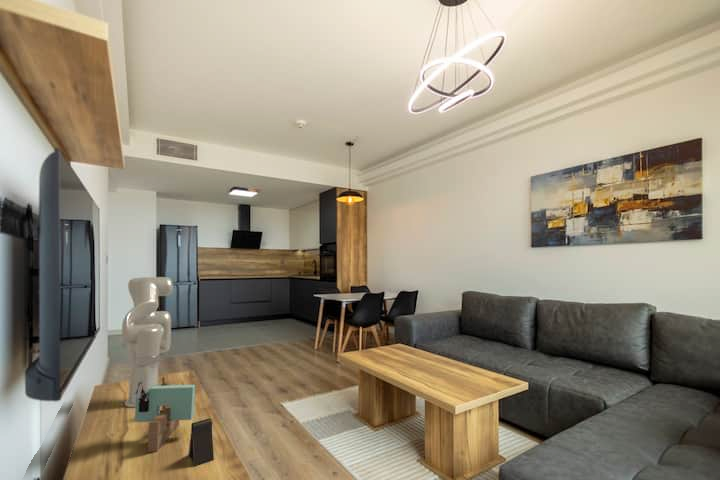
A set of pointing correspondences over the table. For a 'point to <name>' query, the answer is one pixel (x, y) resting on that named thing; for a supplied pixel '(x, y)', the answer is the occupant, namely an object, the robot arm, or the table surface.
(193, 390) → the teal board
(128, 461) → the table surface
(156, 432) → the walnut board
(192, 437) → the phone stand
